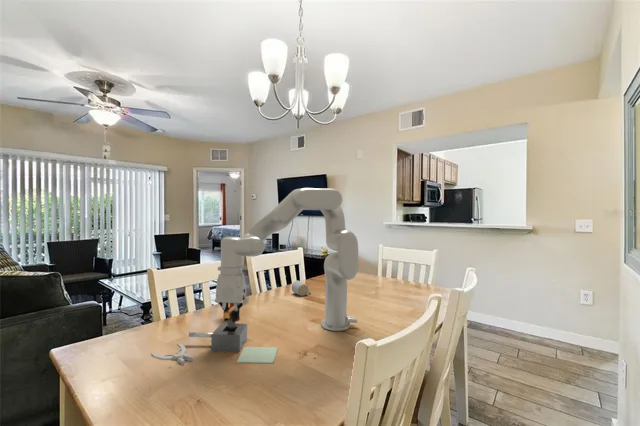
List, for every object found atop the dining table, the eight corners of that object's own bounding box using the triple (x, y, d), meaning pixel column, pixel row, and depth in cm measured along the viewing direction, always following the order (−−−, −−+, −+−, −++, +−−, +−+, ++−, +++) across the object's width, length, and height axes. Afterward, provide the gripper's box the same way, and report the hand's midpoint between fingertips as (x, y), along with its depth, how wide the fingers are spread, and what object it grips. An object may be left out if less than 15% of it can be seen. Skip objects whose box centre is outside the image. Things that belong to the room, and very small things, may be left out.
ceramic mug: (298, 297, 165) (298, 284, 164) (291, 293, 171) (291, 281, 171) (313, 294, 171) (313, 282, 171) (305, 291, 177) (306, 279, 177)
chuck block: (246, 339, 111) (247, 323, 111) (239, 352, 101) (239, 335, 101) (195, 338, 111) (195, 322, 111) (182, 350, 101) (183, 333, 101)
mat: (277, 348, 104) (277, 347, 104) (273, 363, 94) (273, 362, 94) (244, 348, 104) (244, 346, 104) (236, 362, 94) (236, 361, 94)
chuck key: (223, 341, 103) (223, 312, 103) (232, 333, 110) (232, 305, 109) (230, 342, 102) (230, 313, 102) (239, 333, 109) (239, 306, 109)
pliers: (179, 340, 106) (202, 353, 97) (179, 344, 106) (202, 357, 97) (150, 350, 98) (172, 365, 89) (150, 355, 98) (172, 370, 89)
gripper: (205, 271, 103) (205, 322, 104) (247, 273, 100) (247, 325, 101) (216, 267, 111) (216, 314, 111) (256, 269, 108) (256, 317, 108)
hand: (231, 319), depth 106 cm, fingers closed on chuck key, 2 cm apart
